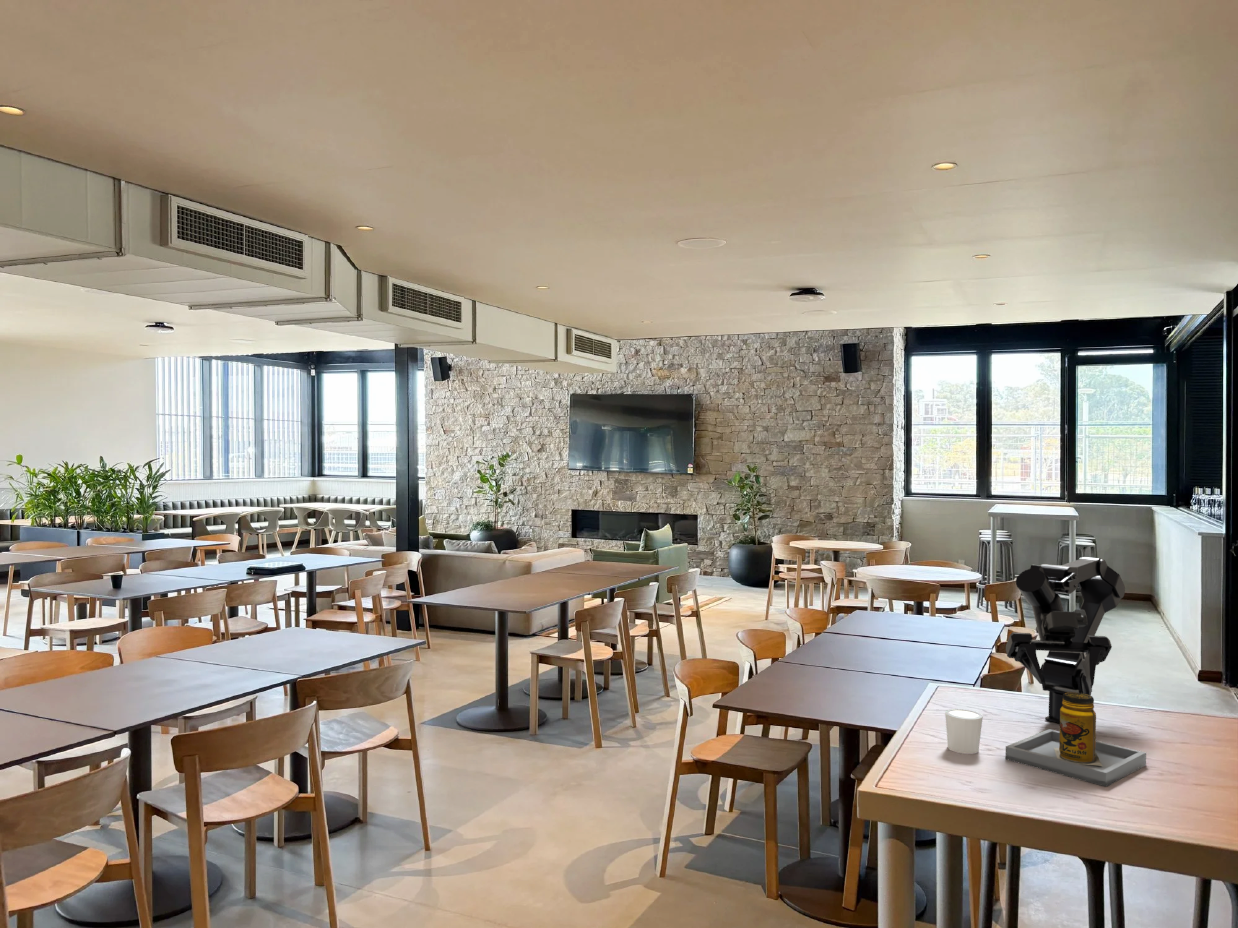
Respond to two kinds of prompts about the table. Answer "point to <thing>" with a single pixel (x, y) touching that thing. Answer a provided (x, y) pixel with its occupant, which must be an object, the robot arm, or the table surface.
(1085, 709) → the condiment
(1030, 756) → the tray
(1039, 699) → the table surface
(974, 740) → the shot glass
